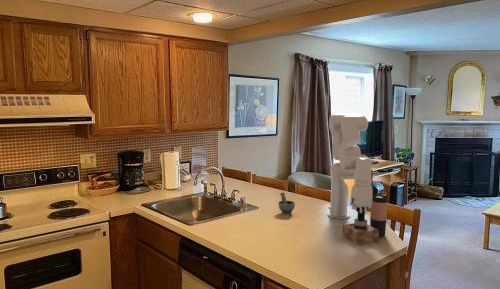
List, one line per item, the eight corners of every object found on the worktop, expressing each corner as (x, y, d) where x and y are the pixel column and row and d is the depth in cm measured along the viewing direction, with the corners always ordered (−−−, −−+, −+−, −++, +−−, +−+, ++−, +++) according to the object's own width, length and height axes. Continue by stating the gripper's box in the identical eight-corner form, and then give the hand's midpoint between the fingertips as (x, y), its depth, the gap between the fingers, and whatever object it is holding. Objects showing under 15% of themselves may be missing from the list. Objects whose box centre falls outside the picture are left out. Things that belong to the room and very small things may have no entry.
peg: (351, 237, 177) (351, 219, 176) (361, 235, 179) (361, 217, 178) (358, 241, 172) (359, 222, 171) (369, 239, 174) (370, 221, 173)
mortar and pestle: (297, 215, 214) (298, 195, 212) (284, 217, 209) (284, 196, 208) (287, 210, 224) (287, 191, 222) (274, 211, 219) (274, 192, 218)
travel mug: (366, 233, 184) (368, 195, 182) (378, 231, 186) (380, 193, 184) (376, 238, 177) (378, 198, 174) (388, 236, 179) (391, 197, 177)
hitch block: (342, 236, 179) (342, 224, 178) (362, 233, 183) (362, 222, 183) (357, 245, 168) (358, 232, 167) (378, 241, 172) (379, 229, 172)
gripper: (369, 180, 179) (368, 216, 181) (344, 182, 173) (343, 219, 175) (380, 183, 172) (378, 221, 174) (354, 185, 166) (353, 224, 168)
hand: (360, 220), depth 174 cm, fingers closed
